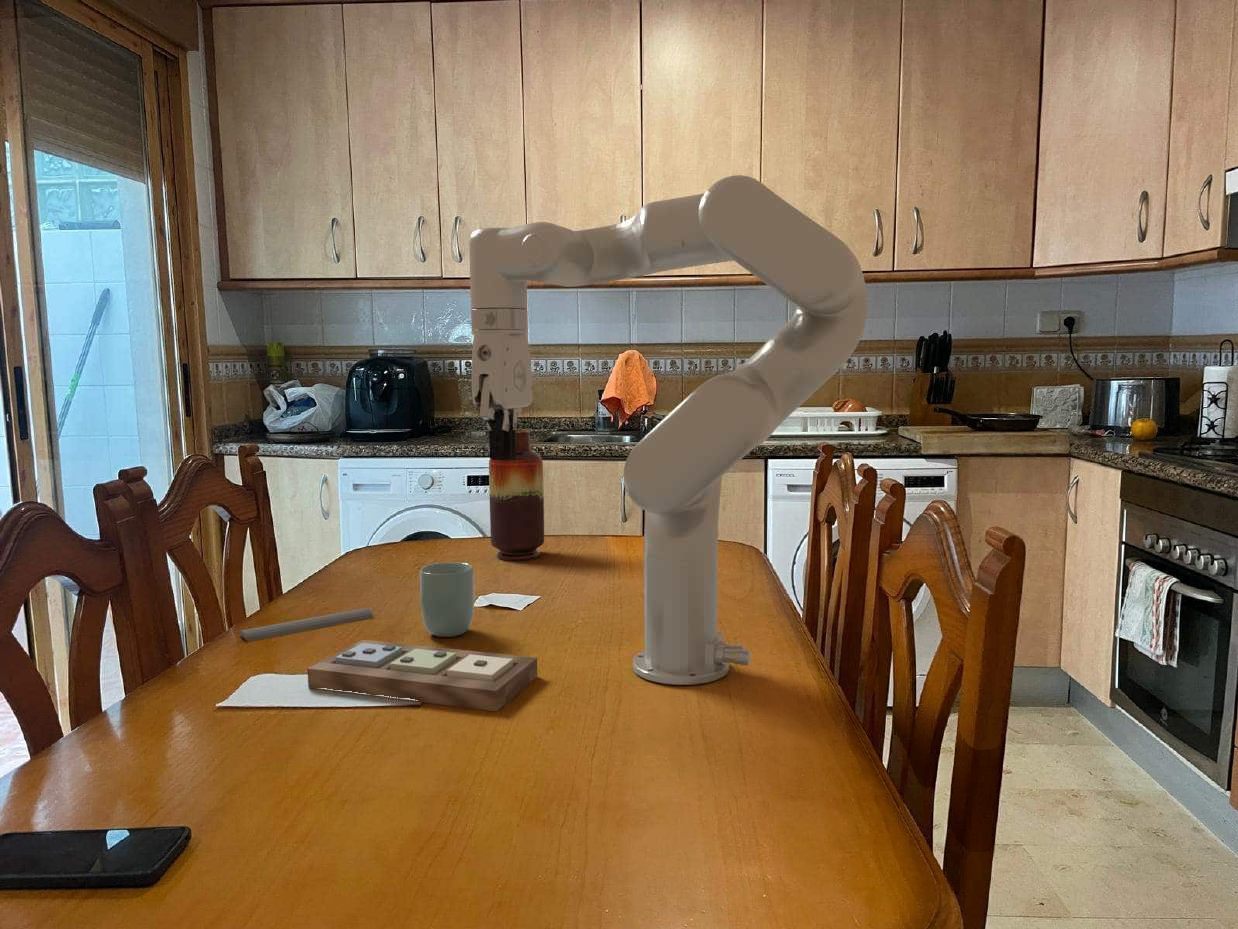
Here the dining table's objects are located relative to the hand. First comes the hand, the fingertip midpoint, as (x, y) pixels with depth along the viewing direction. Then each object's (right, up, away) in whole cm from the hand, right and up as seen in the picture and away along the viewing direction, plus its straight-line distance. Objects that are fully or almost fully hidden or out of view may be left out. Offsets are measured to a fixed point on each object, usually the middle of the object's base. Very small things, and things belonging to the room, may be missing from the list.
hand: (502, 459), depth 123 cm
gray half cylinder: (-32, -26, +16) cm, 44 cm away
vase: (-5, -20, +64) cm, 67 cm away
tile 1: (-1, -28, -11) cm, 31 cm away
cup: (-10, -26, +12) cm, 30 cm away
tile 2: (-9, -28, -8) cm, 31 cm away
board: (-9, -28, -8) cm, 31 cm away
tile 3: (-17, -28, -6) cm, 33 cm away
